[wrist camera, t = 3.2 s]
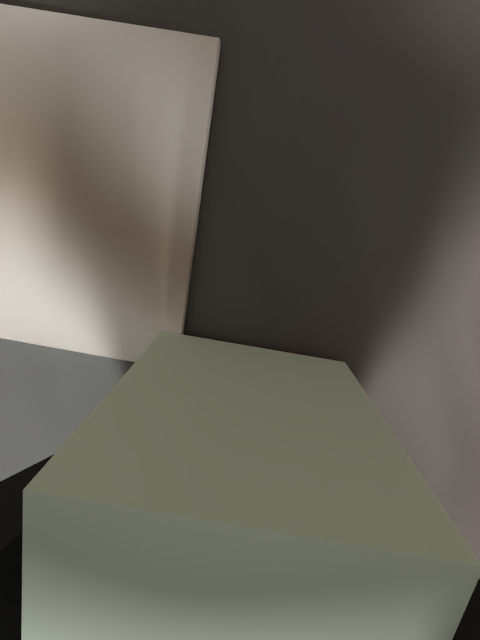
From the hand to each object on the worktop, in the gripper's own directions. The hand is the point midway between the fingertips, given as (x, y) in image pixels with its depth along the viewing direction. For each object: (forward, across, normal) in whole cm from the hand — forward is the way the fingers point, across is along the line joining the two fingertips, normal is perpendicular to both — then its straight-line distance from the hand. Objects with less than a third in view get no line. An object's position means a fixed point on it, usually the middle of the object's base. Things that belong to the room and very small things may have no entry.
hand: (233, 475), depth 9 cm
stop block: (+1, 0, 0) cm, 1 cm away
